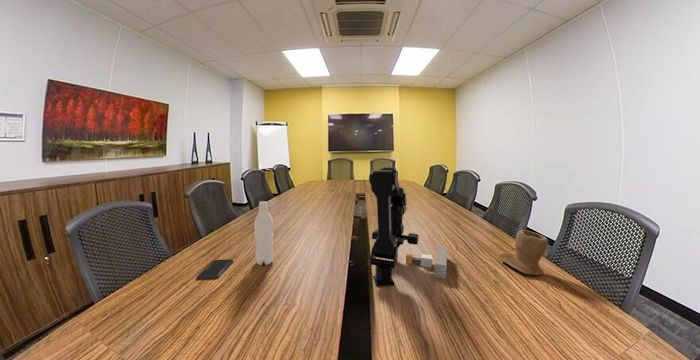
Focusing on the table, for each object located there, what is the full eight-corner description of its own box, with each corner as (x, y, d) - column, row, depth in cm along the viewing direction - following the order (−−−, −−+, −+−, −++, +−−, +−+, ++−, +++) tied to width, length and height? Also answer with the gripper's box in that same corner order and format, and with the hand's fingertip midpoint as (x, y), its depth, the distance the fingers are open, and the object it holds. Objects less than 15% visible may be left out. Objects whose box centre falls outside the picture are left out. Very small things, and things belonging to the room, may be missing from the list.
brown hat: (553, 277, 95) (557, 237, 93) (523, 278, 94) (526, 237, 92) (523, 260, 110) (525, 225, 108) (496, 260, 109) (498, 225, 107)
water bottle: (268, 267, 101) (266, 204, 98) (251, 265, 102) (249, 203, 99) (277, 260, 108) (275, 200, 105) (261, 258, 109) (259, 200, 106)
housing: (434, 277, 94) (434, 263, 93) (436, 256, 112) (437, 245, 112) (446, 279, 92) (446, 265, 92) (446, 258, 111) (446, 246, 110)
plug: (405, 263, 105) (405, 255, 105) (406, 259, 109) (407, 251, 108) (431, 267, 102) (431, 259, 101) (431, 263, 105) (432, 255, 105)
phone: (233, 259, 106) (218, 276, 91) (234, 262, 106) (218, 279, 92) (214, 259, 106) (195, 277, 91) (214, 262, 106) (195, 280, 91)
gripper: (420, 217, 111) (419, 252, 113) (378, 213, 118) (377, 247, 119) (417, 224, 101) (416, 262, 102) (371, 219, 107) (371, 255, 109)
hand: (394, 256), depth 108 cm, fingers closed
